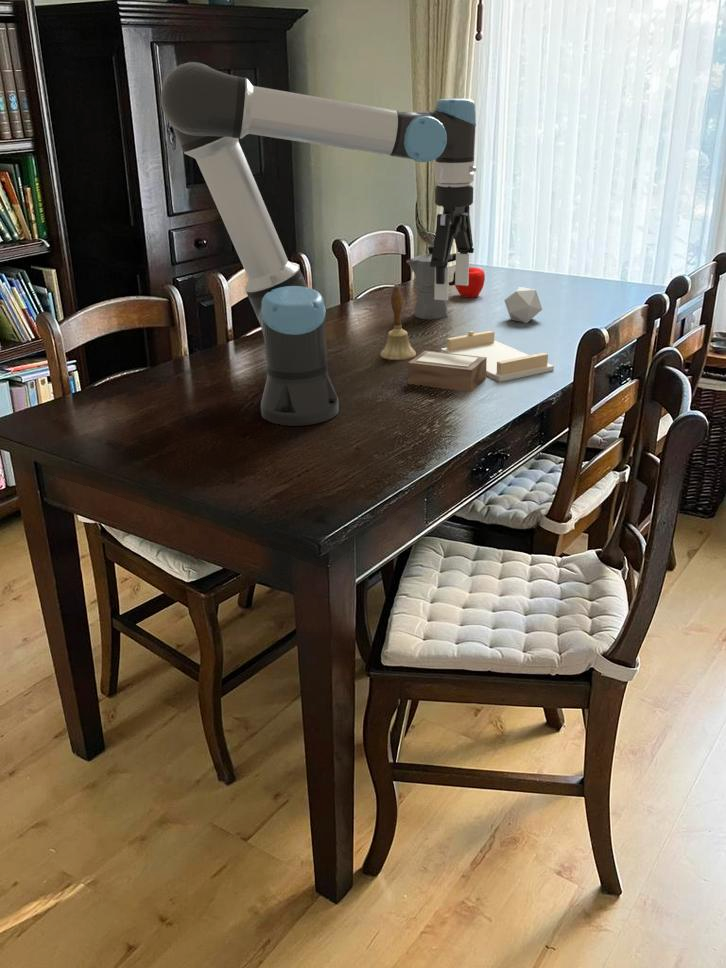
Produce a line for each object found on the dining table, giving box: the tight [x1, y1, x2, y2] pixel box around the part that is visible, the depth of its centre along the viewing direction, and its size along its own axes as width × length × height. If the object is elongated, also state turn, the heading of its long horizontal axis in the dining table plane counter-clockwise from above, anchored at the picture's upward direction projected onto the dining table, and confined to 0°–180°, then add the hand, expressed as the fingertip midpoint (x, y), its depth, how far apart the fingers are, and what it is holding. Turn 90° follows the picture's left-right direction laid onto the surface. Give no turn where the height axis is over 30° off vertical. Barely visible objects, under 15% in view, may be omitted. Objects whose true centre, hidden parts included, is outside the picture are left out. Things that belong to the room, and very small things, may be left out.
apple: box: [452, 266, 486, 299], centre depth 253 cm, size 9×9×8 cm
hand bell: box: [379, 285, 417, 361], centre depth 204 cm, size 8×8×16 cm
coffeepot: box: [406, 245, 456, 320], centre depth 235 cm, size 15×9×18 cm, turn 103°
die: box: [504, 286, 543, 324], centre depth 229 cm, size 8×9×10 cm
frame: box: [407, 350, 487, 393], centre depth 189 cm, size 9×14×5 cm, turn 64°
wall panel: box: [440, 330, 555, 382], centre depth 200 cm, size 14×24×4 cm, turn 26°
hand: (451, 292), depth 185 cm, fingers open, 13 cm apart
